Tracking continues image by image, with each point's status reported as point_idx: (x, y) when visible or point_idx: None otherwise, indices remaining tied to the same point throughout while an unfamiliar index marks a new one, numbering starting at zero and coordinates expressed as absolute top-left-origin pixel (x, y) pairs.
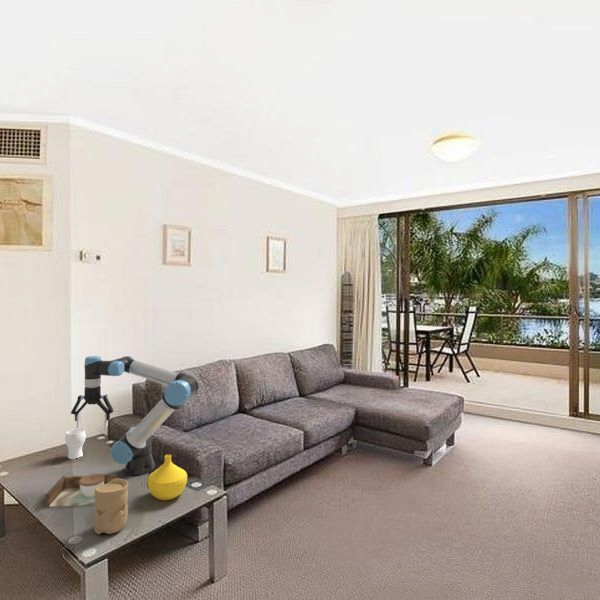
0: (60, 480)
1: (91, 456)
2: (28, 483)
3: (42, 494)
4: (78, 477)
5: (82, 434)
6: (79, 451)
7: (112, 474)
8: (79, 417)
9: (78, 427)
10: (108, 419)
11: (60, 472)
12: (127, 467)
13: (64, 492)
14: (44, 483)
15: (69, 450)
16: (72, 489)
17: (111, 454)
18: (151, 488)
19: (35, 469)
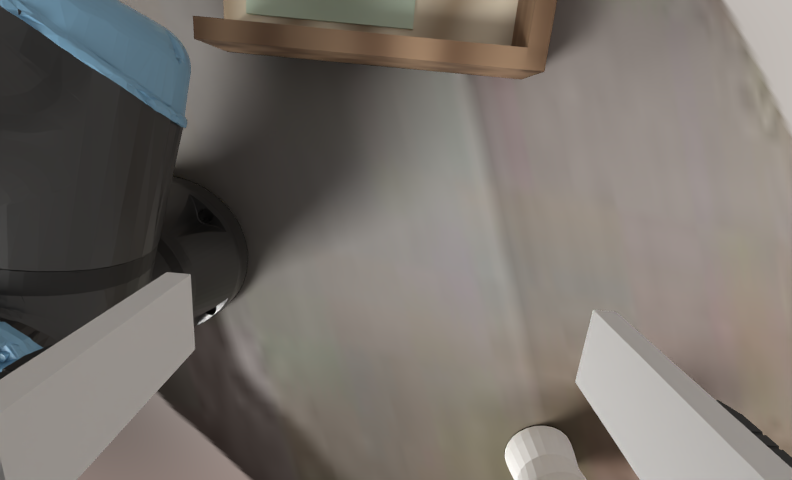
0: (545, 3)
1: (461, 443)
2: (708, 180)
3: (613, 20)
4: (441, 40)
5: None
6: (525, 464)
7: (230, 40)
8: (681, 477)
9: (593, 319)
10: (37, 355)
11: (573, 285)
12: (214, 226)
13: (499, 3)
14: (627, 164)
15: (579, 470)
16: (463, 36)
17: (175, 36)
18: None
19: (700, 342)
